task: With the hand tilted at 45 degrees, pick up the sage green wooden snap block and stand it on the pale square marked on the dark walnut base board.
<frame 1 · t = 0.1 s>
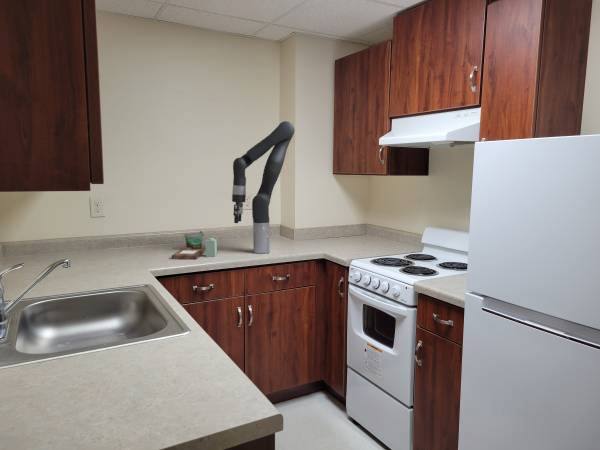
hand: (237, 222, 254), 17 cm above the worktop, tool pointing down, fingers open, 8 cm apart
base board: (188, 255, 246), on the worktop
sage block: (211, 256, 245), on the worktop
food container: (196, 249, 264), on the worktop
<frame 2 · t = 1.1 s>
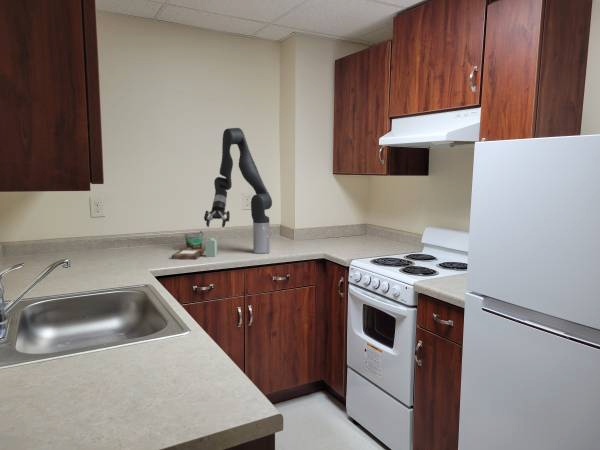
hand: (215, 226, 255), 15 cm above the worktop, tool tilted 45°, fingers open, 8 cm apart
nothing on the worktop moved.
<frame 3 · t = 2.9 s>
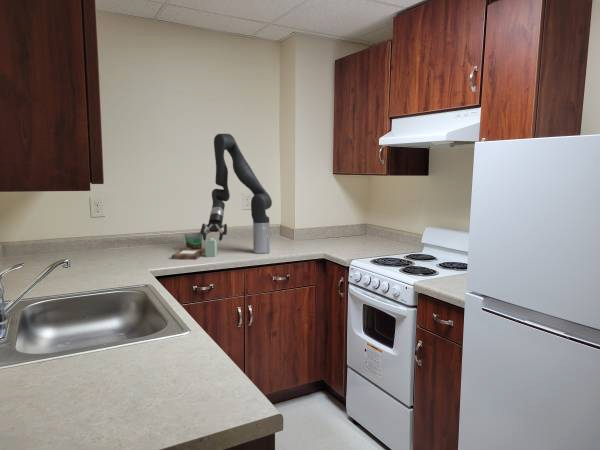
hand: (212, 239, 247), 8 cm above the worktop, tool tilted 45°, fingers open, 8 cm apart
nothing on the worktop moved.
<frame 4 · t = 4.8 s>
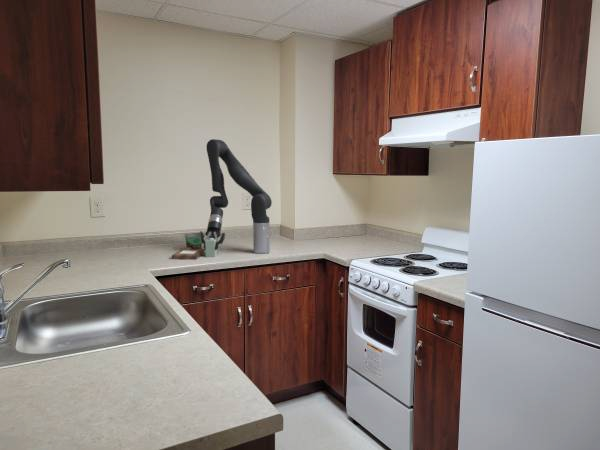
hand: (210, 249, 243), 4 cm above the worktop, tool tilted 45°, fingers closed on sage block, 5 cm apart
sage block: (211, 256, 245), on the worktop, touching gripper
everything else where it was.
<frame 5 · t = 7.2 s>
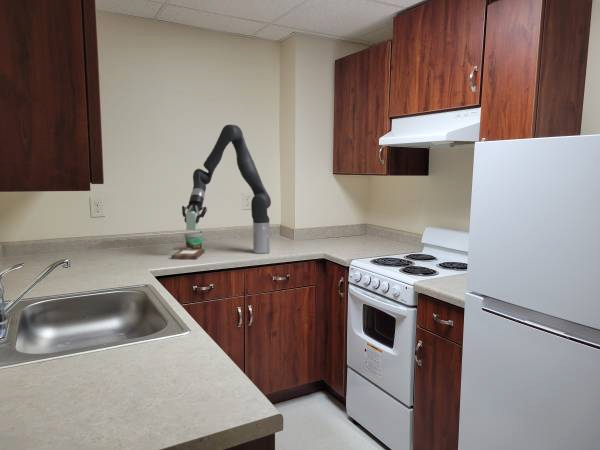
hand: (191, 222, 242), 19 cm above the worktop, tool tilted 45°, fingers closed on sage block, 5 cm apart
sage block: (192, 229, 244), point 14 cm above the worktop, touching gripper
everything else where it was.
when the fingers open (7 cm above the worktop, at t = 9.9 s): sage block drops 1 cm, resting on base board.
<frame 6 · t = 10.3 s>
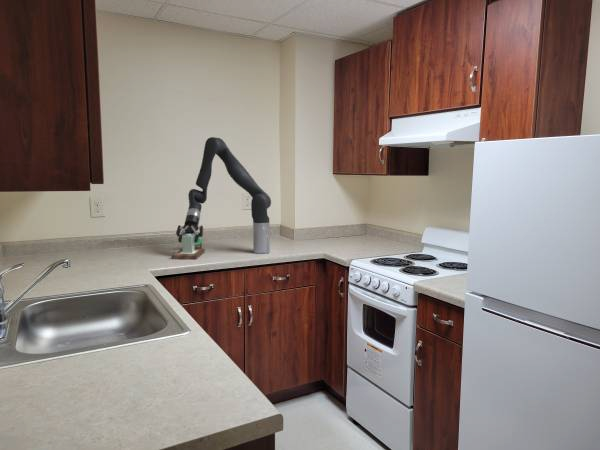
hand: (187, 241, 243), 8 cm above the worktop, tool tilted 45°, fingers open, 8 cm apart
sage block: (188, 251, 246), point 2 cm above the worktop, touching base board
everything else where it was.
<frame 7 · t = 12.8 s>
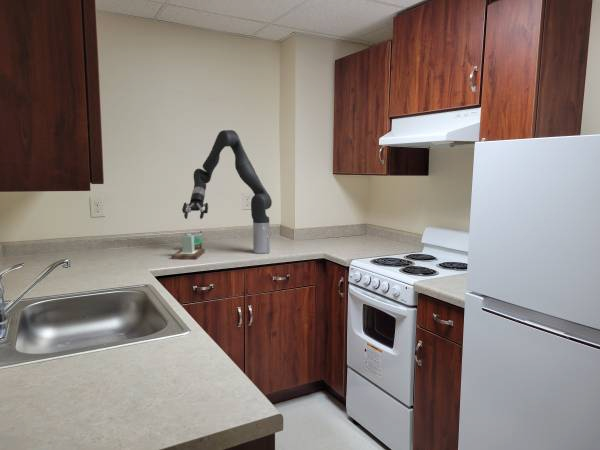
hand: (193, 218, 254), 19 cm above the worktop, tool tilted 45°, fingers open, 8 cm apart
nothing on the worktop moved.
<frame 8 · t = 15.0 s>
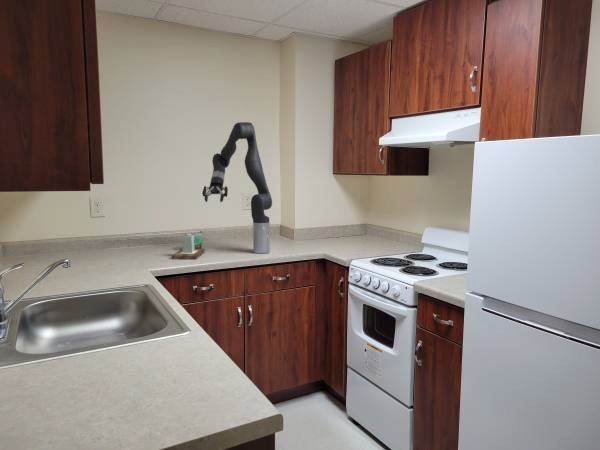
hand: (213, 201, 258), 29 cm above the worktop, tool tilted 45°, fingers open, 8 cm apart
nothing on the worktop moved.
at the end: sage block 0.1 cm off-centre on the base board, point 2.1 cm above the base board's base; sage block tilted 0°; the gripper is holding nothing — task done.
